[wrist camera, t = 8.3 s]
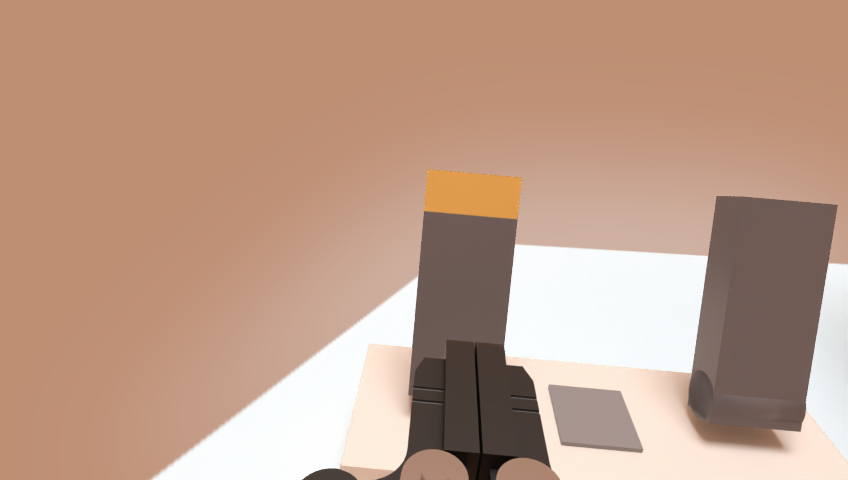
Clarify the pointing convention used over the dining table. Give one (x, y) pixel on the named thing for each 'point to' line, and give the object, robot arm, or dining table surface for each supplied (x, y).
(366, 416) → the beige lever base
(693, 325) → the dining table surface
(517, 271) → the dining table surface
